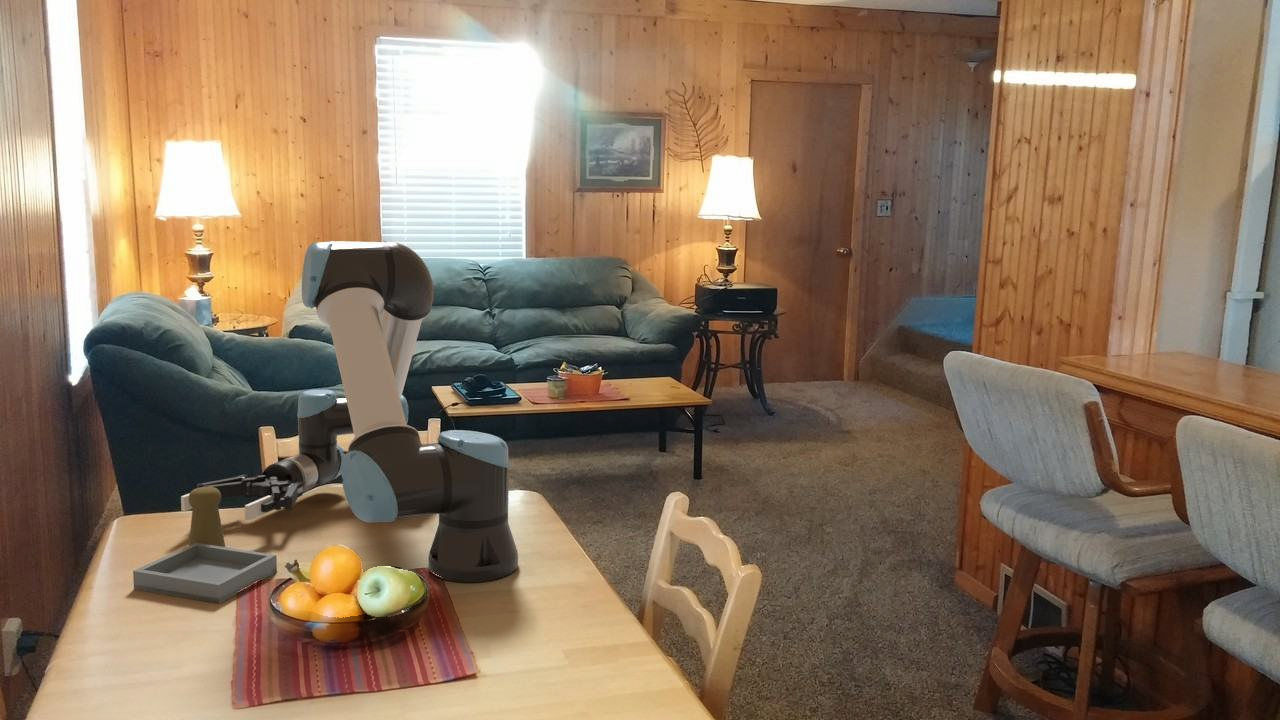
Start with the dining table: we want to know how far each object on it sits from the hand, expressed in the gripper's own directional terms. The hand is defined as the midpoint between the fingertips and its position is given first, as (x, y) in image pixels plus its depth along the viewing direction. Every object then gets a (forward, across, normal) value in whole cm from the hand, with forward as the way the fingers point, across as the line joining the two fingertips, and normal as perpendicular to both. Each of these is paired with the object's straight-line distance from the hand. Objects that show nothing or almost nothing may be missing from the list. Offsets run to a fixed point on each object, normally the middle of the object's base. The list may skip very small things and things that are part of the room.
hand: (214, 508), depth 180 cm
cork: (+3, -1, -7) cm, 7 cm away
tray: (+15, -11, -6) cm, 19 cm away
